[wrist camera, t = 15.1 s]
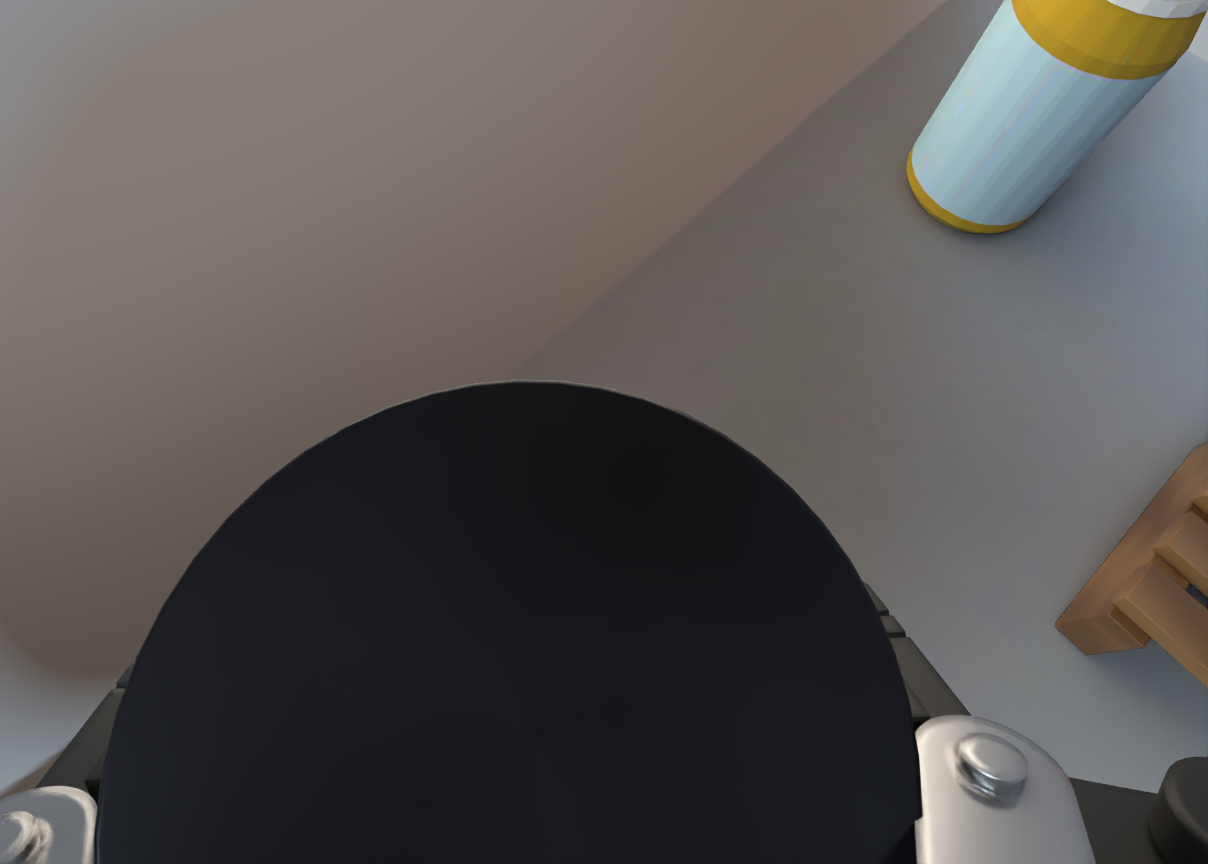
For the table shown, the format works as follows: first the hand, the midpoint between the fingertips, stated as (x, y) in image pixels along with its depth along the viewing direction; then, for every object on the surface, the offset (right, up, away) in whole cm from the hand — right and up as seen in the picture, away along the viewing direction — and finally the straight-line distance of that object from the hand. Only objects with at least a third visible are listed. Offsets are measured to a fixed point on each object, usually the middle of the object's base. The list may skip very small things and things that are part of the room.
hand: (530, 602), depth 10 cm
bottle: (+20, +15, +28) cm, 38 cm away
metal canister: (0, -3, +4) cm, 5 cm away
